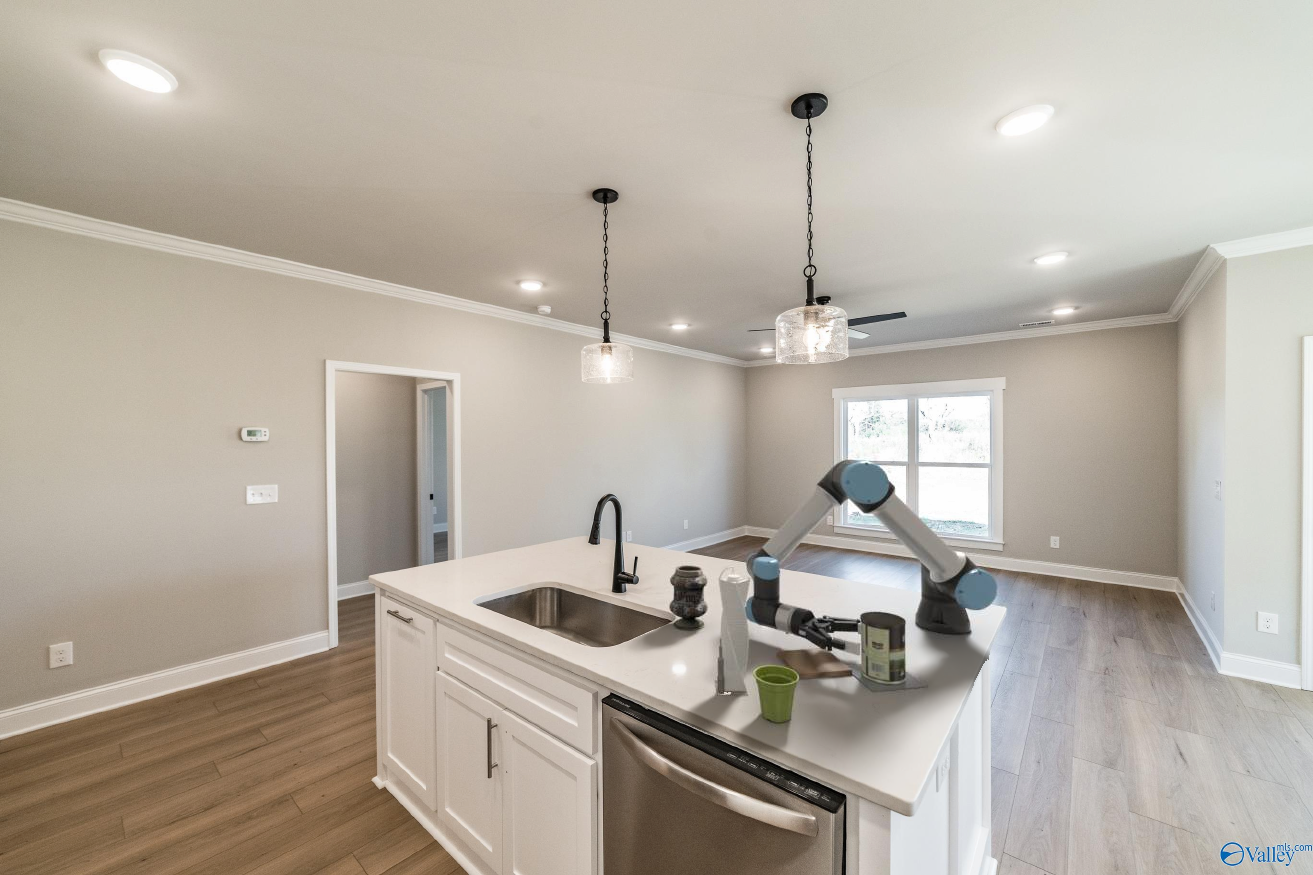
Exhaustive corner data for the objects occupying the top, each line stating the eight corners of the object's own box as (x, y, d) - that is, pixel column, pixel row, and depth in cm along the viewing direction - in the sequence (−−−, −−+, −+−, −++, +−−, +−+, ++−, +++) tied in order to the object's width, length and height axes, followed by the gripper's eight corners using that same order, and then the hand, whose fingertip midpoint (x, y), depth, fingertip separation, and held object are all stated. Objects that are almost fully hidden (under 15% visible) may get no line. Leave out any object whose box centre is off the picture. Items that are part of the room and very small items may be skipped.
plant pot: (748, 705, 114) (748, 665, 114) (790, 703, 115) (790, 663, 115) (760, 728, 105) (760, 685, 105) (806, 726, 106) (805, 683, 106)
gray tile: (891, 662, 136) (891, 661, 136) (927, 687, 122) (927, 686, 122) (841, 666, 134) (841, 665, 134) (873, 691, 120) (873, 690, 120)
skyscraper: (714, 679, 127) (714, 564, 127) (747, 679, 127) (747, 564, 127) (717, 696, 119) (717, 573, 119) (753, 696, 118) (752, 573, 119)
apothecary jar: (714, 622, 166) (714, 566, 166) (696, 634, 156) (696, 574, 156) (681, 616, 172) (681, 561, 173) (662, 627, 162) (662, 569, 162)
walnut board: (825, 652, 143) (825, 647, 143) (852, 674, 129) (852, 669, 129) (776, 655, 140) (776, 651, 140) (799, 678, 127) (799, 673, 127)
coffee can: (900, 668, 132) (899, 612, 132) (911, 686, 122) (911, 626, 122) (857, 664, 134) (856, 609, 134) (864, 682, 124) (864, 623, 124)
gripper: (818, 623, 153) (892, 643, 138) (770, 646, 136) (848, 672, 121) (818, 597, 153) (891, 615, 138) (770, 618, 136) (848, 640, 121)
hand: (871, 641), depth 129 cm, fingers open, 13 cm apart
